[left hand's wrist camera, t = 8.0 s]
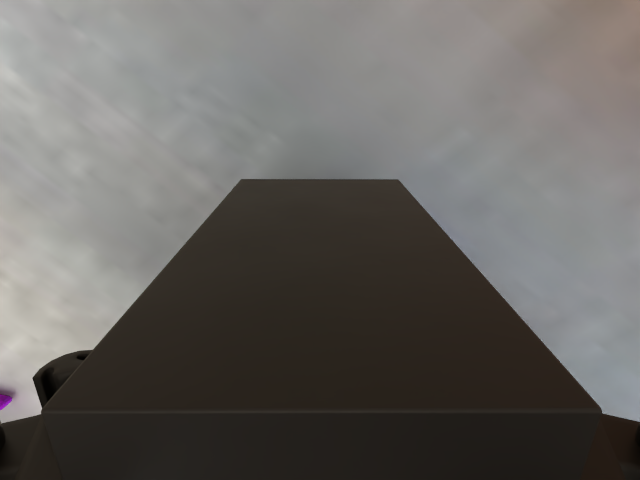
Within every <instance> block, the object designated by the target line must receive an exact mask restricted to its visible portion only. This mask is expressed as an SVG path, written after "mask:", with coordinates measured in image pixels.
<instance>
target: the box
mask: <svg viewBox="0 0 640 480" xmlns="http://www.w3.org/2000/svg"><path fill="white" fill-rule="evenodd" d="M41 414H42V417H43V420H44V424H45V427H46V430H47V433H48V436H49V439H50V442H51V445H52V449H53V452H54V455H55V458H56V461H57V464H58V467H59V470H60V474H61V477H62V480H580V478H581V475H582V472H583V469H584V466H585V463H586V460H587V457H588V454H589V451H590V448H591V445H592V442H593V439H594V436H595V433H596V430H597V427H598V424H599V421H600V418H601V415H602V410H601V408H600V407H599V405H598V404H597V403H596V402H595V401H594V400H593V399H592V398H591V396H590V395H589V394H588V393H587V392H586V391H585V390H584V388H583V387H582V386H581V385H580V384H579V383H578V382H577V381H576V379H575V378H574V377H573V376H572V375H571V374H570V373H569V372H568V370H567V369H566V368H565V367H564V366H563V365H562V364H561V363H560V361H559V360H558V359H557V358H556V357H555V356H554V355H553V354H552V352H551V351H550V350H549V349H548V348H547V347H546V346H545V345H544V343H543V342H542V341H541V340H540V339H539V338H538V337H537V336H536V334H535V333H534V332H533V331H532V330H531V329H530V328H529V326H528V325H527V324H526V323H525V322H524V321H523V320H522V319H521V317H520V316H519V315H518V314H517V313H516V312H515V311H514V310H513V308H512V307H511V306H510V305H509V304H508V303H507V302H506V301H505V299H504V298H503V297H502V296H501V295H500V294H499V293H498V292H497V290H496V289H495V288H494V287H493V286H492V285H491V284H490V283H489V281H488V280H487V279H486V278H485V277H484V276H483V275H482V274H481V272H480V271H479V270H478V269H477V268H476V267H475V266H474V264H473V263H472V262H471V261H470V260H469V259H468V258H467V257H466V255H465V254H464V253H463V252H462V251H461V250H460V249H459V248H458V246H457V245H456V244H455V243H454V242H453V241H452V240H451V239H450V237H449V236H448V235H447V234H446V233H445V232H444V231H443V230H442V228H441V227H440V226H439V225H438V224H437V223H436V222H435V221H434V219H433V218H432V217H431V216H430V215H429V214H428V213H427V212H426V210H425V209H424V208H423V207H422V206H421V205H420V204H419V202H418V201H417V200H416V199H415V198H414V197H413V196H412V195H411V193H410V192H409V191H408V190H407V189H406V188H405V187H404V186H403V184H402V183H401V182H400V181H399V180H379V179H241V180H240V181H239V183H238V184H237V185H236V186H235V187H234V188H233V190H232V191H231V192H230V193H229V194H228V195H227V196H226V198H225V199H224V200H223V201H222V202H221V203H220V204H219V206H218V207H217V208H216V209H215V210H214V211H213V213H212V214H211V215H210V216H209V217H208V218H207V219H206V221H205V222H204V223H203V224H202V225H201V226H200V227H199V229H198V230H197V231H196V232H195V233H194V234H193V236H192V237H191V238H190V239H189V240H188V241H187V242H186V244H185V245H184V246H183V247H182V248H181V249H180V250H179V252H178V253H177V254H176V255H175V256H174V257H173V259H172V260H171V261H170V262H169V263H168V264H167V265H166V267H165V268H164V269H163V270H162V271H161V272H160V273H159V275H158V276H157V277H156V278H155V279H154V280H153V282H152V283H151V284H150V285H149V286H148V287H147V288H146V290H145V291H144V292H143V293H142V294H141V295H140V296H139V298H138V299H137V300H136V301H135V302H134V303H133V305H132V306H131V307H130V308H129V309H128V310H127V311H126V313H125V314H124V315H123V316H122V317H121V318H120V319H119V321H118V322H117V323H116V324H115V325H114V326H113V328H112V329H111V330H110V331H109V332H108V333H107V334H106V336H105V337H104V338H103V339H102V340H101V341H100V342H99V344H98V345H97V346H96V347H95V348H94V349H93V351H92V352H91V353H90V354H89V355H88V356H87V357H86V359H85V360H84V361H83V362H82V363H81V364H80V365H79V367H78V368H77V369H76V370H75V371H74V372H73V374H72V375H71V376H70V377H69V378H68V379H67V380H66V382H65V383H64V384H63V385H62V386H61V387H60V388H59V390H58V391H57V392H56V393H55V394H54V395H53V397H52V398H51V399H50V400H49V401H48V402H47V403H46V405H45V406H44V407H43V408H42V411H41Z"/></svg>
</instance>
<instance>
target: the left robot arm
mask: <svg viewBox="0 0 640 480" xmlns="http://www.w3.org/2000/svg"><path fill="white" fill-rule="evenodd" d="M92 351H93V350H85V351H77V352H73V353H70V354H66V355H63V356H61V357H59V358H57V359H55V360H52V361H51V362H49V363H48V364H46V365H45V366H43V367H42V368H41V369H39V371H38V372H37V373H36V374H35V375H34V377H33V381H34V384H35V387H36V390H37V394H38V397H39V400H40V403H41V406H42V408H43V407H44V406H45V405H46V403H47V402H48V401H49V400H50V399H51V398H52V397H53V395H54V394H55V393H56V392H57V391H58V390H59V388H60V387H61V386H62V385H63V384H64V383H65V382H66V380H67V379H68V378H69V377H70V376H71V375H72V374H73V372H74V371H75V370H76V369H77V368H78V367H79V365H80V364H81V363H82V362H83V361H84V360H85V359H86V357H87V356H88V355H89V354H90V353H91V352H92ZM0 480H62V477H61V474H60V470H59V467H58V464H57V461H56V458H55V455H54V452H53V449H52V445H51V442H50V439H49V436H48V433H47V430H46V427H45V424H44V420H43V417H42V414H40V415H37V416H33V417H28V418H24V419H20V420H15V421H11V422H6V423H2V424H1V422H0ZM580 480H640V422H637V421H633V420H628V419H624V418H619V417H615V416H610V415H606V414H602V415H601V418H600V421H599V424H598V427H597V430H596V433H595V436H594V439H593V442H592V445H591V448H590V451H589V454H588V457H587V460H586V463H585V466H584V469H583V472H582V475H581V478H580Z"/></svg>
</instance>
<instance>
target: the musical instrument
mask: <svg viewBox="0 0 640 480" xmlns="http://www.w3.org/2000/svg"><path fill="white" fill-rule="evenodd" d="M11 401H12V398H11V397H10V396H6V395H1V394H0V410H2V409H3V408H4V407H5V406H7V405H8V404H9V403H10V402H11Z"/></svg>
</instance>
